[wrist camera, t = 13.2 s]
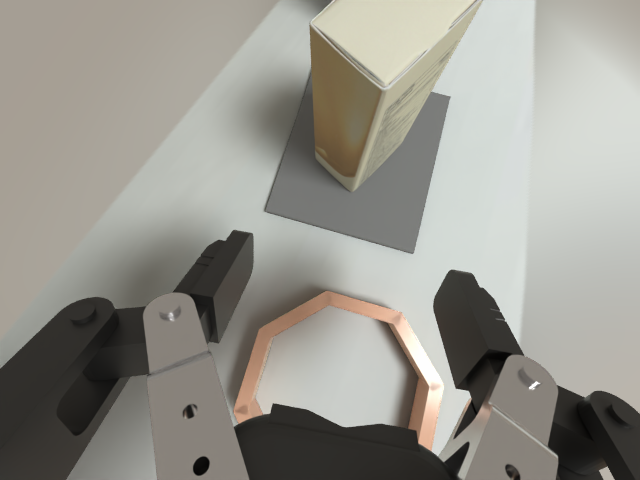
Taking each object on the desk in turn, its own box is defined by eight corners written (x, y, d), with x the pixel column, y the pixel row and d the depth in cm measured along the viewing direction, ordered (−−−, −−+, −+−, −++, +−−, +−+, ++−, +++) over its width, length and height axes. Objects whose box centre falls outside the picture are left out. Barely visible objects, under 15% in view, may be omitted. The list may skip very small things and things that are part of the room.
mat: (266, 212, 22) (265, 210, 22) (315, 65, 25) (315, 61, 24) (411, 253, 22) (413, 252, 22) (447, 99, 24) (450, 96, 24)
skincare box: (364, 110, 24) (413, -76, 12) (403, 144, 23) (496, -14, 11) (310, 161, 23) (303, 17, 11) (349, 197, 22) (387, 88, 10)
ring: (223, 455, 19) (213, 474, 17) (279, 276, 22) (275, 275, 20) (403, 513, 19) (413, 540, 17) (442, 324, 21) (455, 328, 19)
